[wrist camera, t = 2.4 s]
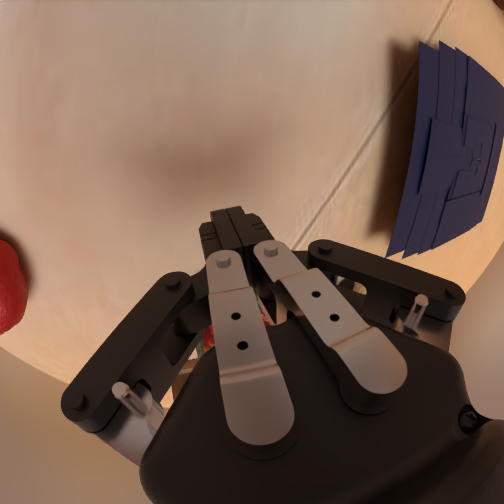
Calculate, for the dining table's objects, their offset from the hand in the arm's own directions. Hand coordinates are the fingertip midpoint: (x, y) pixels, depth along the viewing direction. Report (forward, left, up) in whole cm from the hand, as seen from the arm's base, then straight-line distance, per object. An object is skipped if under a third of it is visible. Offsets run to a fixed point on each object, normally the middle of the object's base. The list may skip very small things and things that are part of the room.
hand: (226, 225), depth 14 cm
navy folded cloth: (-1, +31, -8) cm, 32 cm away
